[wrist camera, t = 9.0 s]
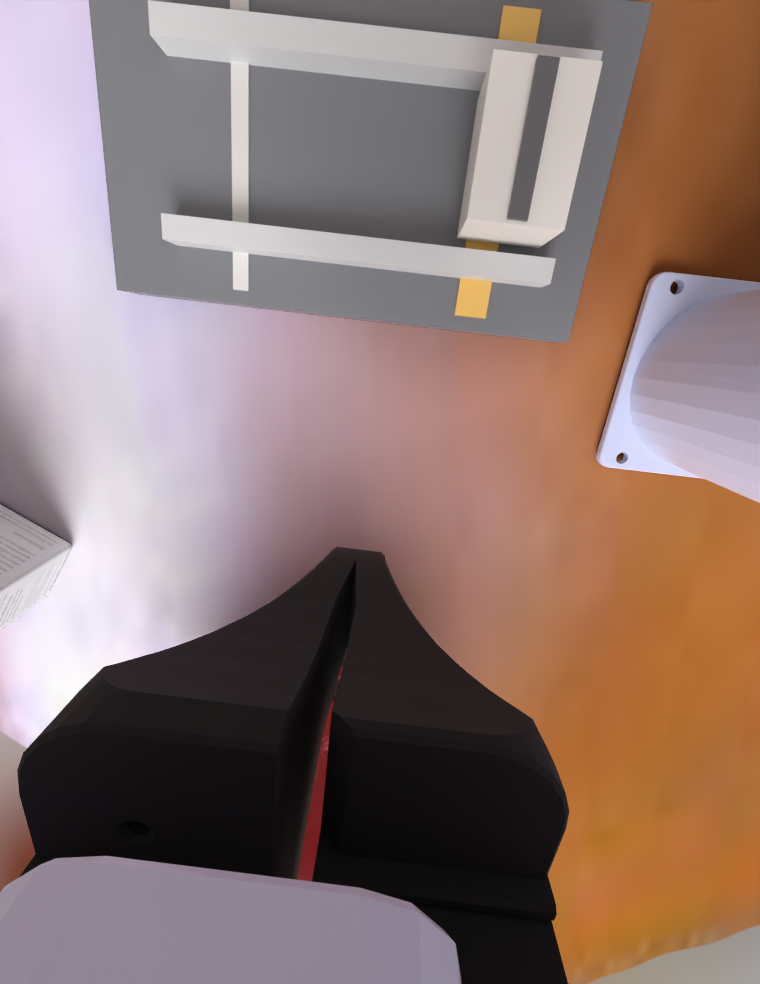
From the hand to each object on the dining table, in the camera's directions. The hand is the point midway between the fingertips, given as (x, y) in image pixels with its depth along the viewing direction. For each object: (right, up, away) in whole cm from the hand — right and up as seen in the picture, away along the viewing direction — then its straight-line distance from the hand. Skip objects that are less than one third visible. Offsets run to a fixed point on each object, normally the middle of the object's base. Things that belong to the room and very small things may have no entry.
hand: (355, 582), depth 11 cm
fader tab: (+5, +13, +3) cm, 15 cm away
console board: (0, +15, +5) cm, 15 cm away
